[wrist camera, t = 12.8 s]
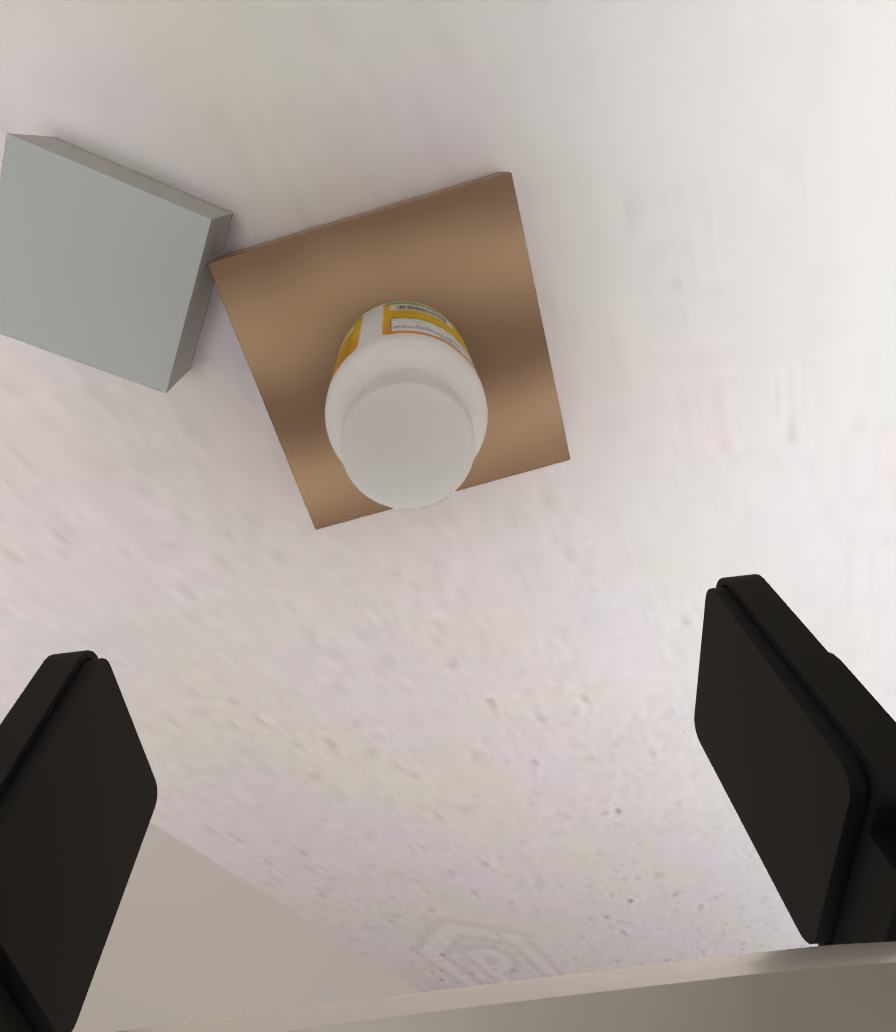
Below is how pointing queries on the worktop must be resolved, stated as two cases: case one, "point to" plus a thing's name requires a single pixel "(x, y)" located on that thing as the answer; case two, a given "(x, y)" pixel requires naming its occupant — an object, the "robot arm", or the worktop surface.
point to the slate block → (103, 261)
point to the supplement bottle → (405, 406)
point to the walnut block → (387, 278)
